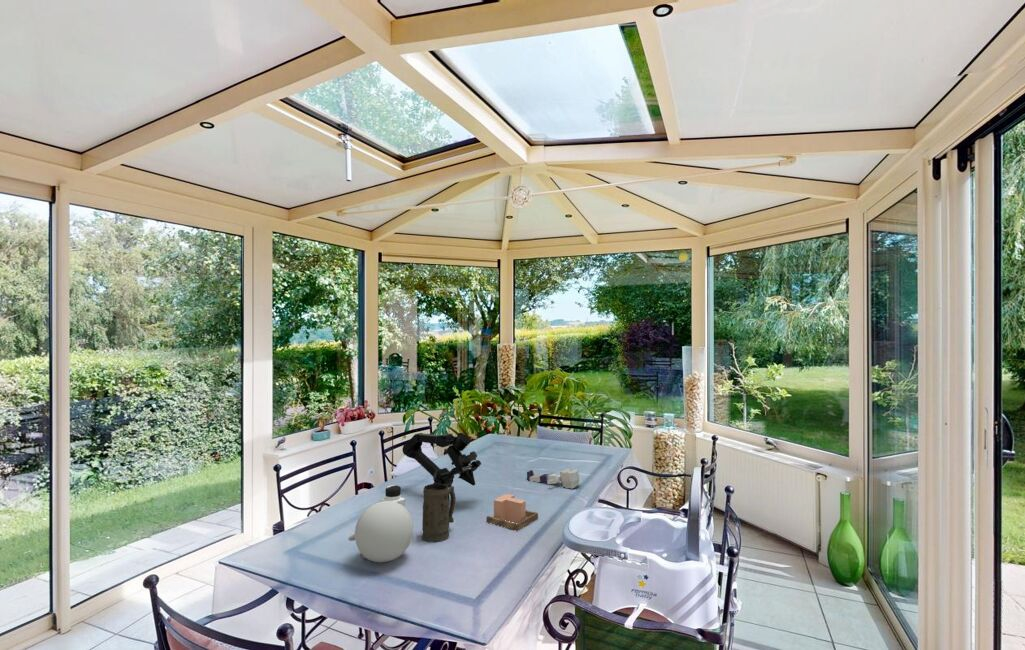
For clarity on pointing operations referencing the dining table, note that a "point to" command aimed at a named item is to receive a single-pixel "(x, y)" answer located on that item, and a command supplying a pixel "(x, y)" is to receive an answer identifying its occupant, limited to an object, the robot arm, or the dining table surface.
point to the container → (394, 495)
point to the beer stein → (437, 511)
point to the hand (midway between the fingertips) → (474, 484)
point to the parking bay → (531, 518)
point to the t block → (509, 508)
